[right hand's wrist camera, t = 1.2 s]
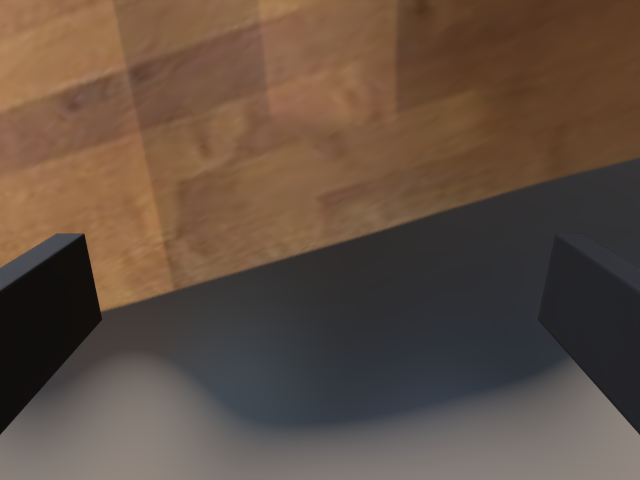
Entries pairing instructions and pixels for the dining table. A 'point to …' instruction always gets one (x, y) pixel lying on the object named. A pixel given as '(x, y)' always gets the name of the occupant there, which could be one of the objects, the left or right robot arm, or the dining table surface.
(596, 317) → the right robot arm
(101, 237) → the dining table surface
